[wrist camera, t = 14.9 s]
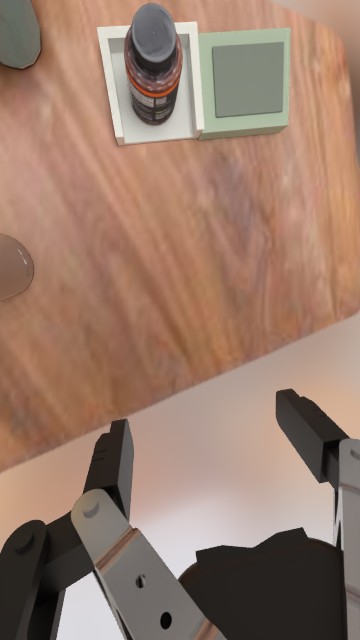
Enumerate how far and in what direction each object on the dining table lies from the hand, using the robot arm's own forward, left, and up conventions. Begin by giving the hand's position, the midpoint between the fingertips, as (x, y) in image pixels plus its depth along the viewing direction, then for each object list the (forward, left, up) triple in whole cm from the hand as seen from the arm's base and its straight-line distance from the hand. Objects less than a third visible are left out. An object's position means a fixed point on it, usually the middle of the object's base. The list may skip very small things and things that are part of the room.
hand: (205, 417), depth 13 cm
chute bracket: (+2, +27, -30) cm, 40 cm away
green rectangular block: (+14, +27, -30) cm, 42 cm away
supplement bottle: (+2, +26, -30) cm, 40 cm away
